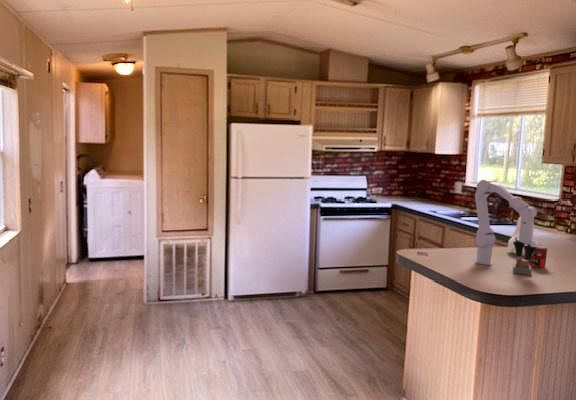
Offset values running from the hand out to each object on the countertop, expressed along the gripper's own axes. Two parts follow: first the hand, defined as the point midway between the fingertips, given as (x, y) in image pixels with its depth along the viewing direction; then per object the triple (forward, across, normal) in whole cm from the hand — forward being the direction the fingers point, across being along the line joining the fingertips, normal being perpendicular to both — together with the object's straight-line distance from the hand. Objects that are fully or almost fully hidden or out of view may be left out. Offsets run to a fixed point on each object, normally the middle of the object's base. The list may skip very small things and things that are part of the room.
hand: (523, 257), depth 254 cm
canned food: (+8, -12, +16) cm, 21 cm away
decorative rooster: (+8, -36, +22) cm, 43 cm away
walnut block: (+7, 0, 0) cm, 7 cm away
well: (+8, 0, 0) cm, 8 cm away
